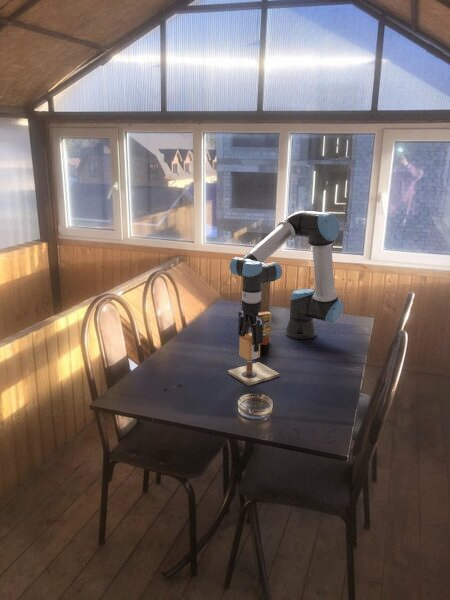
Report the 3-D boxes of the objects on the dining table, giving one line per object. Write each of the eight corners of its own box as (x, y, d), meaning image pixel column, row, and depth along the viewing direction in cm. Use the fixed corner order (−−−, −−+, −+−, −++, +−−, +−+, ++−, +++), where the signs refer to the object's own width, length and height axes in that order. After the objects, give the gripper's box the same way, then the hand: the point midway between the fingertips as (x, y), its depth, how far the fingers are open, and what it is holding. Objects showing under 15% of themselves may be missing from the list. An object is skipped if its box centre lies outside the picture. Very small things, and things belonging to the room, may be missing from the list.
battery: (265, 356, 224) (266, 336, 221) (251, 354, 227) (252, 333, 224) (268, 353, 228) (269, 333, 225) (255, 350, 230) (255, 330, 228)
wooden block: (269, 312, 285) (270, 278, 279) (254, 315, 280) (255, 281, 274) (259, 308, 293) (260, 275, 287) (245, 310, 288) (246, 277, 283)
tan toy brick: (250, 352, 205) (251, 331, 202) (259, 357, 200) (260, 335, 197) (239, 355, 201) (239, 334, 199) (247, 360, 197) (248, 338, 194)
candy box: (254, 346, 236) (255, 315, 231) (250, 343, 239) (251, 313, 235) (270, 343, 239) (271, 313, 235) (266, 340, 243) (267, 310, 239)
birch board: (258, 364, 216) (258, 350, 214) (279, 376, 205) (279, 361, 203) (228, 373, 207) (228, 358, 205) (248, 385, 196) (248, 370, 194)
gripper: (229, 296, 200) (228, 350, 206) (258, 308, 184) (256, 365, 191) (244, 293, 204) (243, 346, 210) (274, 305, 189) (271, 361, 195)
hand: (249, 355), depth 201 cm, fingers closed on tan toy brick, 6 cm apart
